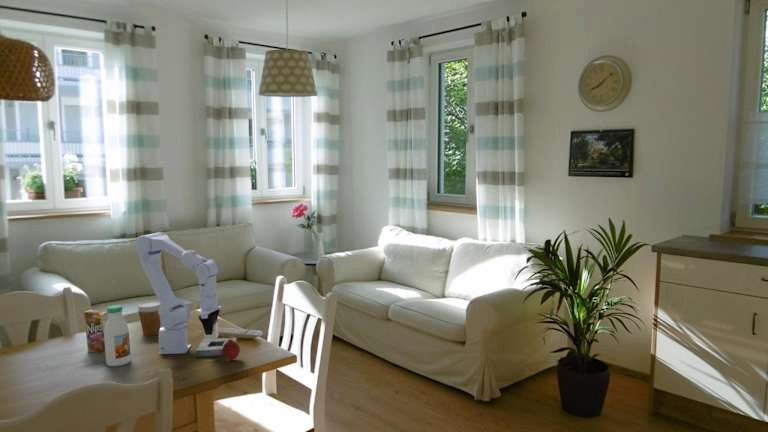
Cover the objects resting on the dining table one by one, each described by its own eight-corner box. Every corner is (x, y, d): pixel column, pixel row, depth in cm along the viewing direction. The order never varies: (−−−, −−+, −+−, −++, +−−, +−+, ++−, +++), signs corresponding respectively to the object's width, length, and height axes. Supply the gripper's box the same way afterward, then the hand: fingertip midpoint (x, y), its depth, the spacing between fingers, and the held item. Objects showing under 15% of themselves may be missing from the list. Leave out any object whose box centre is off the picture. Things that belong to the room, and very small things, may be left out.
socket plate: (195, 357, 197) (195, 350, 197) (203, 345, 209) (203, 339, 208) (230, 355, 198) (229, 349, 197) (236, 344, 210) (236, 337, 209)
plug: (204, 339, 196) (203, 323, 195) (207, 336, 200) (206, 319, 199) (215, 339, 196) (215, 323, 196) (218, 335, 200) (217, 319, 200)
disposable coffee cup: (143, 329, 228) (141, 301, 226) (167, 328, 229) (165, 300, 227) (135, 337, 219) (133, 308, 217) (160, 336, 220) (158, 306, 218)
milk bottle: (106, 368, 188) (102, 311, 185) (106, 361, 195) (101, 305, 192) (131, 364, 191) (127, 307, 189) (130, 357, 198) (126, 302, 196)
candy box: (86, 352, 204) (83, 311, 202) (96, 348, 208) (93, 308, 206) (105, 355, 200) (101, 313, 199) (114, 350, 204) (111, 310, 203)
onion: (243, 358, 195) (242, 336, 194) (233, 364, 190) (232, 341, 189) (229, 356, 197) (228, 334, 196) (219, 362, 192) (218, 340, 191)
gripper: (215, 300, 189) (217, 338, 191) (224, 289, 204) (226, 325, 205) (194, 300, 189) (196, 339, 191) (205, 289, 203) (206, 326, 205)
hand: (210, 332), depth 198 cm, fingers closed on plug, 4 cm apart
